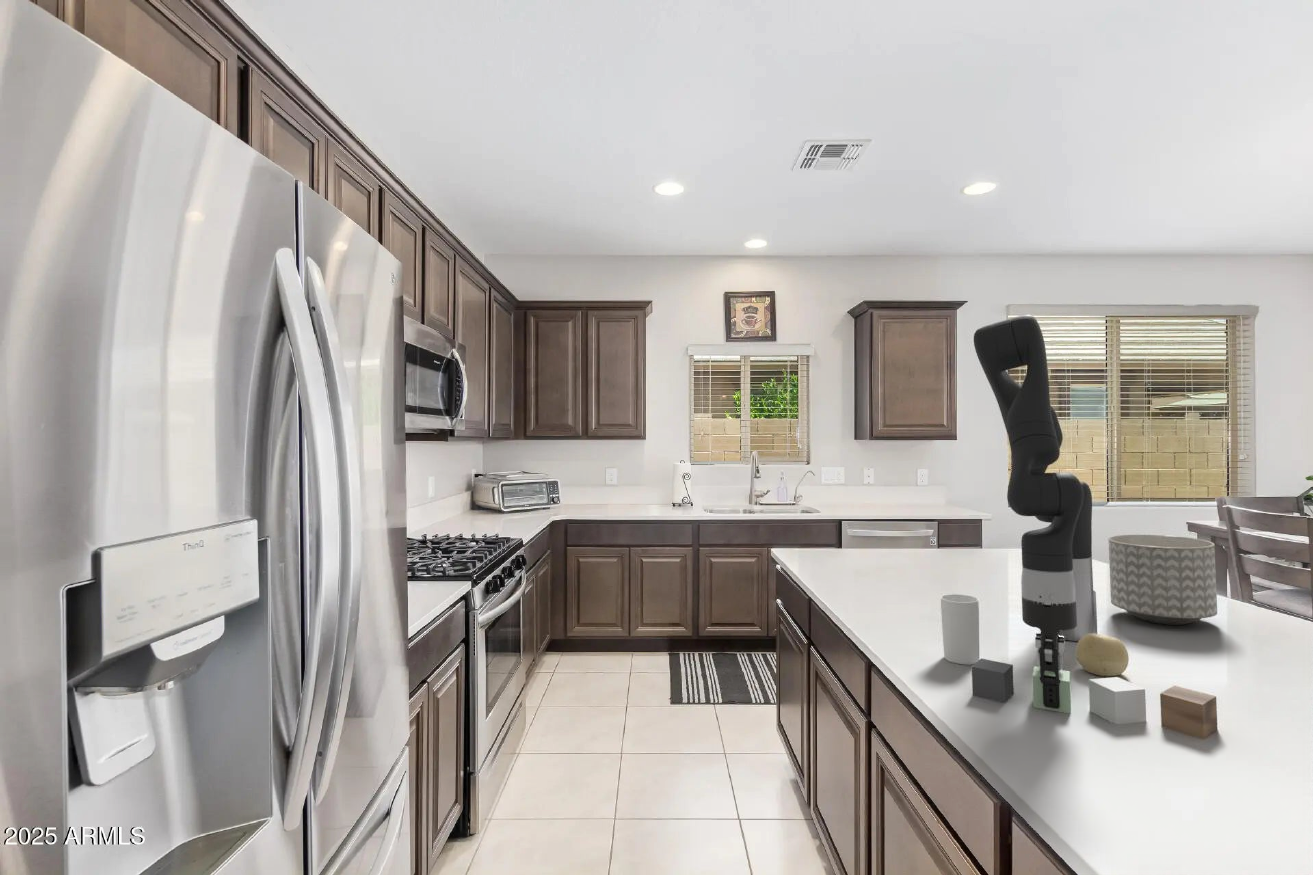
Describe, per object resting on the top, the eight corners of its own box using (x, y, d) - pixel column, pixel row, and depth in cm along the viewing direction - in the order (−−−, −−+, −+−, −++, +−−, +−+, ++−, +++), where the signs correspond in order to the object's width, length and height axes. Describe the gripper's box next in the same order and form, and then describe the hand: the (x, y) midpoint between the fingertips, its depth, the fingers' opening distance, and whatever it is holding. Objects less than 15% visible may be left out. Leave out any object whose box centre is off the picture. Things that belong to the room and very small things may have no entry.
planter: (1208, 614, 148) (1205, 536, 148) (1226, 637, 132) (1223, 550, 132) (1108, 605, 158) (1105, 532, 158) (1114, 625, 142) (1111, 544, 142)
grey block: (1118, 708, 101) (1117, 676, 101) (1146, 722, 96) (1145, 688, 96) (1089, 710, 100) (1088, 679, 100) (1116, 724, 95) (1114, 691, 95)
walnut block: (1175, 718, 96) (1174, 685, 96) (1217, 730, 92) (1216, 696, 92) (1161, 727, 94) (1160, 693, 94) (1203, 739, 90) (1202, 704, 90)
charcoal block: (982, 686, 111) (981, 658, 111) (1013, 694, 107) (1012, 664, 107) (972, 695, 107) (971, 666, 107) (1005, 703, 104) (1004, 673, 104)
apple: (1069, 671, 115) (1064, 629, 119) (1095, 682, 118) (1089, 641, 122) (1115, 670, 109) (1108, 625, 112) (1142, 681, 112) (1134, 637, 115)
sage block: (1035, 696, 106) (1034, 666, 106) (1070, 701, 103) (1069, 671, 103) (1033, 707, 102) (1032, 675, 102) (1070, 713, 99) (1069, 681, 99)
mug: (974, 668, 119) (972, 604, 120) (937, 660, 124) (935, 599, 124) (990, 653, 127) (987, 593, 127) (954, 647, 131) (952, 589, 132)
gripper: (1024, 584, 111) (1028, 681, 111) (1018, 603, 99) (1022, 712, 99) (1076, 588, 107) (1080, 689, 106) (1075, 609, 95) (1080, 723, 94)
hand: (1052, 700), depth 103 cm, fingers closed on sage block, 5 cm apart
